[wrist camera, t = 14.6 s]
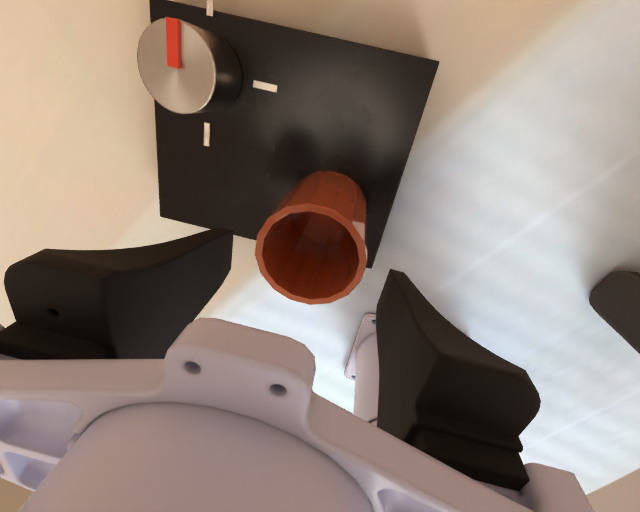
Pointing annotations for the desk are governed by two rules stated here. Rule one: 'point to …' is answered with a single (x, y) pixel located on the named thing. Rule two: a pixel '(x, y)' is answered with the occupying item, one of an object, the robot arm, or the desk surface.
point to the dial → (188, 67)
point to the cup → (316, 240)
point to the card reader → (620, 304)
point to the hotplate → (289, 124)
